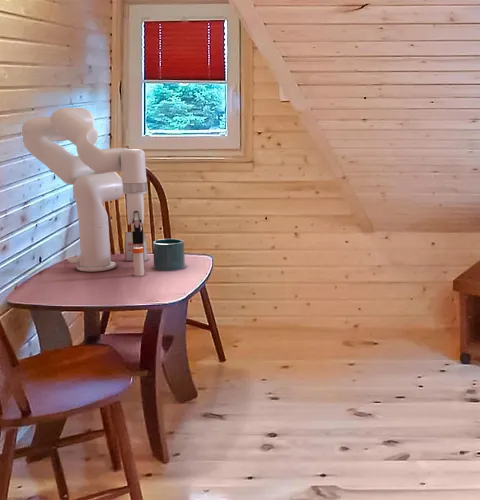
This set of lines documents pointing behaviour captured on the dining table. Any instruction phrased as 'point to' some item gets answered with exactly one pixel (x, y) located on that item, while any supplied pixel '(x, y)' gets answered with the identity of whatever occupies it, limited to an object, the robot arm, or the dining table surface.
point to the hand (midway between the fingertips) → (138, 241)
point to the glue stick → (138, 261)
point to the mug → (168, 254)
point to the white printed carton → (130, 245)
